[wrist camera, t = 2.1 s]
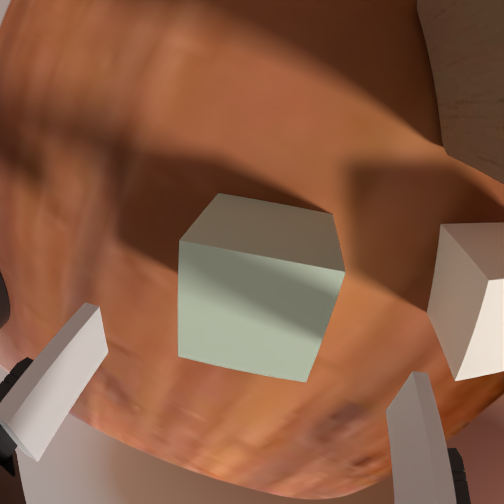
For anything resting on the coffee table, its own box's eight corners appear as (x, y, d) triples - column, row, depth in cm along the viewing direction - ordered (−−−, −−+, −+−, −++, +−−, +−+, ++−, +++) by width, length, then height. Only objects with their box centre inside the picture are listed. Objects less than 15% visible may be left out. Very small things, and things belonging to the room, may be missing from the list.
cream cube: (426, 311, 21) (454, 381, 15) (440, 223, 18) (488, 280, 12) (499, 303, 20) (536, 362, 14) (518, 221, 17) (574, 270, 11)
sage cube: (209, 287, 23) (178, 356, 17) (218, 192, 20) (179, 240, 13) (307, 306, 22) (305, 382, 16) (332, 213, 19) (345, 272, 13)
